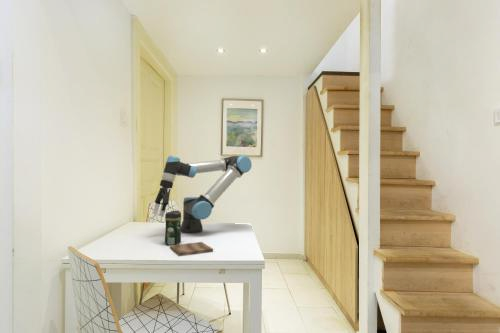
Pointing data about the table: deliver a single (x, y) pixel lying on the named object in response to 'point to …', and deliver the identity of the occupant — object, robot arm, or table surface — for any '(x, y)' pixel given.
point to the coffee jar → (173, 228)
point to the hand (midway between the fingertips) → (157, 215)
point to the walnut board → (191, 248)
